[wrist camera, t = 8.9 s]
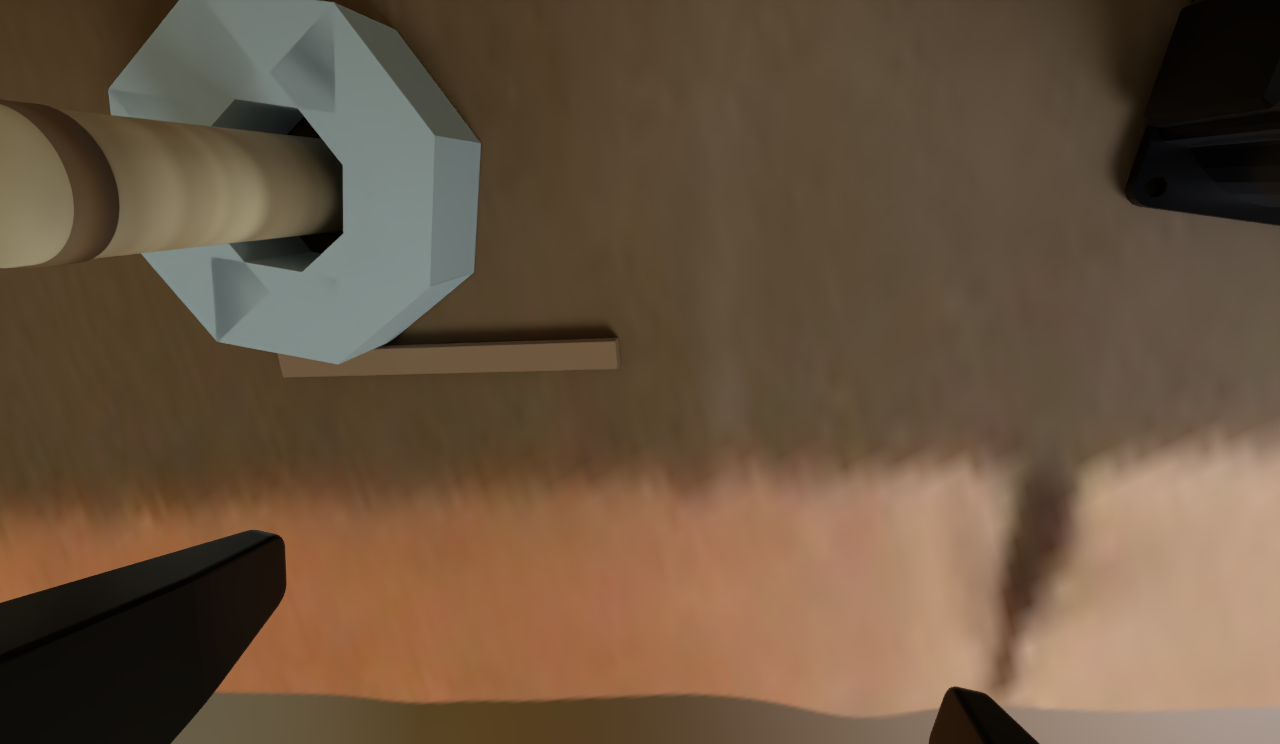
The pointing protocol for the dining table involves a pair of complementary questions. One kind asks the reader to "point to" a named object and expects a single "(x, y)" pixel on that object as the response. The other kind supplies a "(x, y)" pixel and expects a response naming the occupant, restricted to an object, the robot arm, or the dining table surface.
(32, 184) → the beige wooden cylinder
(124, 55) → the dining table surface
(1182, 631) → the dining table surface
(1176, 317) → the dining table surface
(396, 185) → the bead
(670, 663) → the dining table surface
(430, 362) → the brown wooden stick
